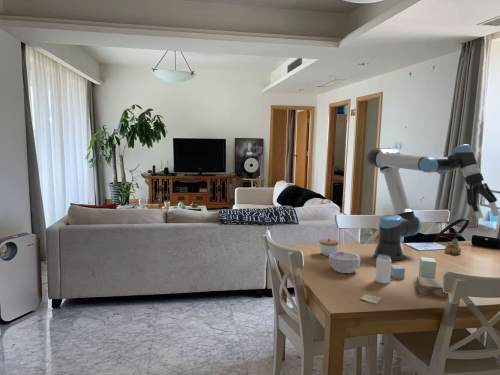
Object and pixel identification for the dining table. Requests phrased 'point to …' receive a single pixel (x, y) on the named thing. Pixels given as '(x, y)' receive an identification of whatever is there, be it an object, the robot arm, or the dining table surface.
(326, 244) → the lidded jar
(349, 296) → the dining table surface
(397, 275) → the slate block
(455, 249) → the ornament
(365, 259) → the dining table surface
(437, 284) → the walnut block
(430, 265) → the sage block
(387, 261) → the can
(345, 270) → the paper bowls
